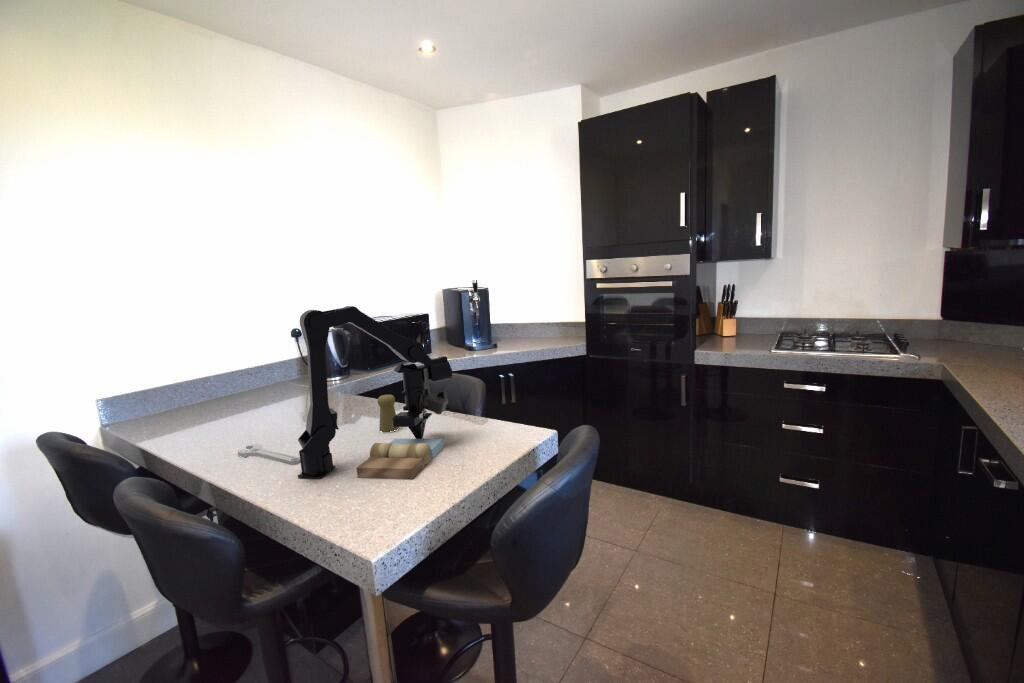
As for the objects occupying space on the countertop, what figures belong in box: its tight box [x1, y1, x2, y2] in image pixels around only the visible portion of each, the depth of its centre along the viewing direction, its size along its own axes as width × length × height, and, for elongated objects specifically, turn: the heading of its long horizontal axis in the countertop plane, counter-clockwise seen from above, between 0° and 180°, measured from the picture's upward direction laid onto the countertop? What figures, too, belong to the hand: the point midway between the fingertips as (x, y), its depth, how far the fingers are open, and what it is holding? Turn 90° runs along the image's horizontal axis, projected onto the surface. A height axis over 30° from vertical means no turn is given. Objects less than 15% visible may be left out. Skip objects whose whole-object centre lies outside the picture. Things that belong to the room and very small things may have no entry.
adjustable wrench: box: [237, 443, 301, 466], centre depth 125 cm, size 25×6×2 cm, turn 55°
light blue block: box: [389, 438, 445, 460], centre depth 118 cm, size 14×13×5 cm
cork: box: [377, 394, 400, 432], centre depth 141 cm, size 6×6×11 cm
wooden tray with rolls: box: [356, 442, 431, 480], centre depth 111 cm, size 14×11×5 cm
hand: (420, 441), depth 126 cm, fingers closed
